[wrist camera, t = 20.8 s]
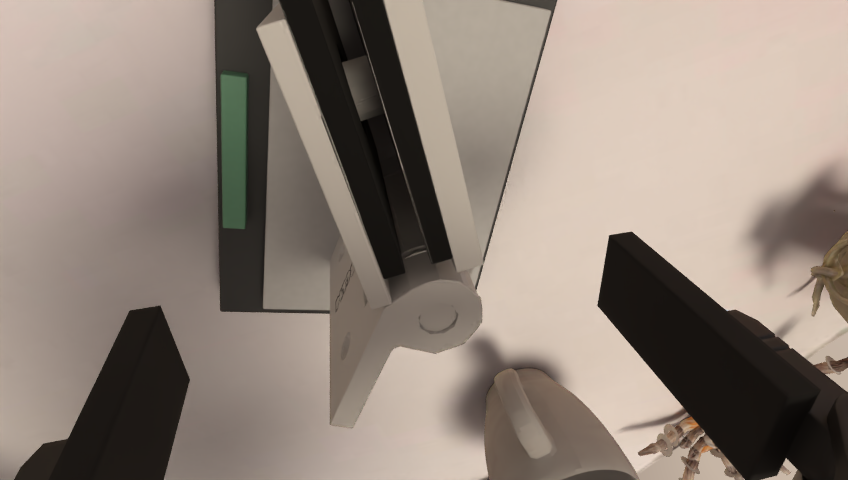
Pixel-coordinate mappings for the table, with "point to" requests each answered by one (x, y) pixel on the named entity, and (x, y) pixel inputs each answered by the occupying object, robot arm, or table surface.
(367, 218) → the hinge
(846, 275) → the lamp
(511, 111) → the scale
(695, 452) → the tarantula
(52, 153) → the table surface
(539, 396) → the mug
